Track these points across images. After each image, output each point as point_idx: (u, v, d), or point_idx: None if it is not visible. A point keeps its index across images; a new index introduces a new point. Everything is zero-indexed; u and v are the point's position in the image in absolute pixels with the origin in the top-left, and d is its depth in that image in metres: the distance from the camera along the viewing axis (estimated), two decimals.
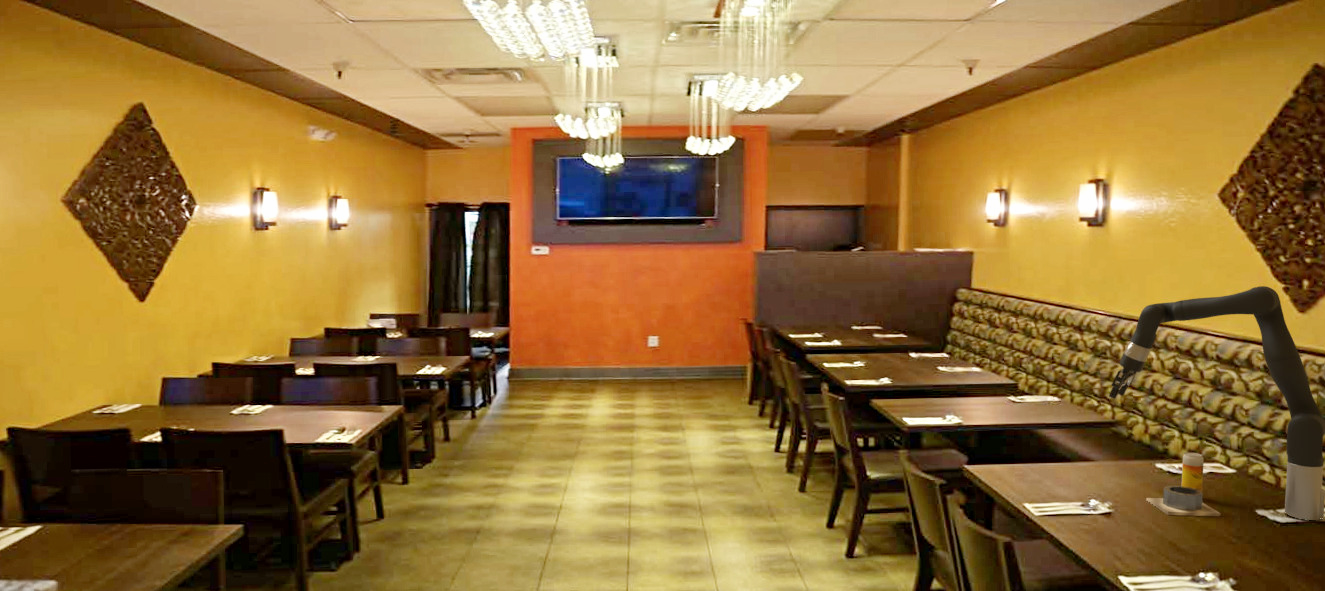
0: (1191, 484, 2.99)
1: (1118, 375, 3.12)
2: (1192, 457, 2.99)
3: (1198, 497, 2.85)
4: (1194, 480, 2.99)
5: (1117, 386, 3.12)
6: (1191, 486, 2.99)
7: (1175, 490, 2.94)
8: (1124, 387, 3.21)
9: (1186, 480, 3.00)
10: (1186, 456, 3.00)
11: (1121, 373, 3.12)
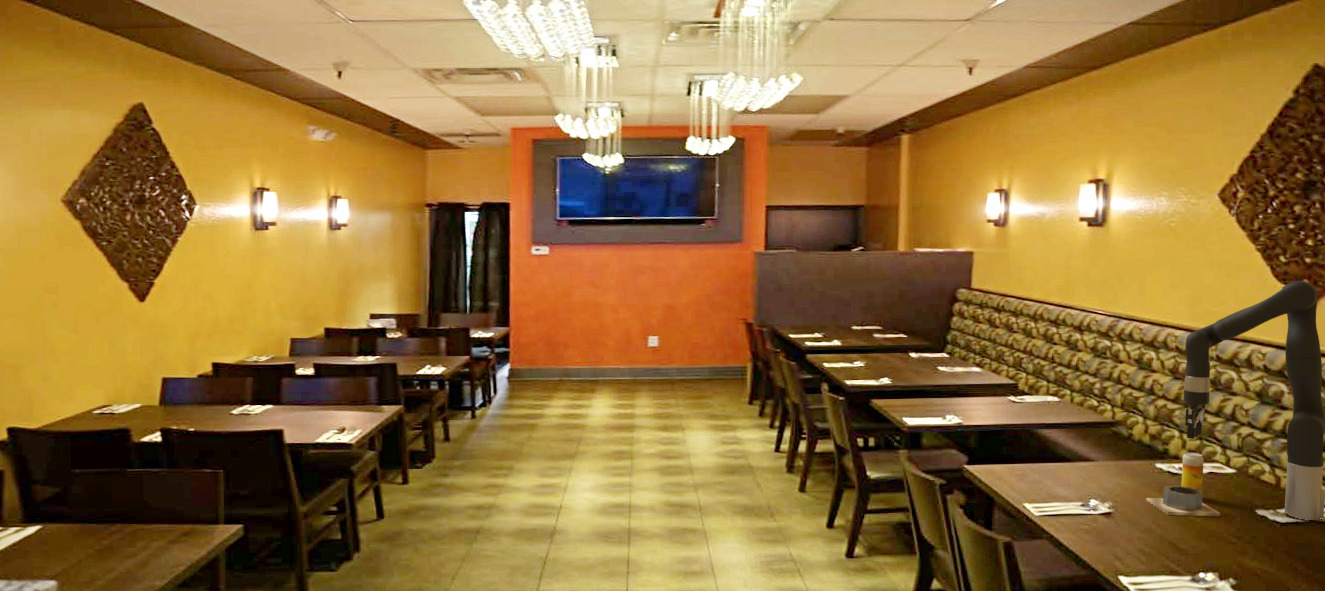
0: (1191, 484, 2.99)
1: (1188, 413, 2.95)
2: (1192, 457, 2.99)
3: (1198, 497, 2.85)
4: (1194, 480, 2.99)
5: (1191, 424, 2.95)
6: (1191, 486, 2.99)
7: (1175, 490, 2.94)
8: (1199, 425, 3.03)
9: (1186, 480, 3.00)
10: (1186, 456, 3.00)
11: (1190, 410, 2.95)
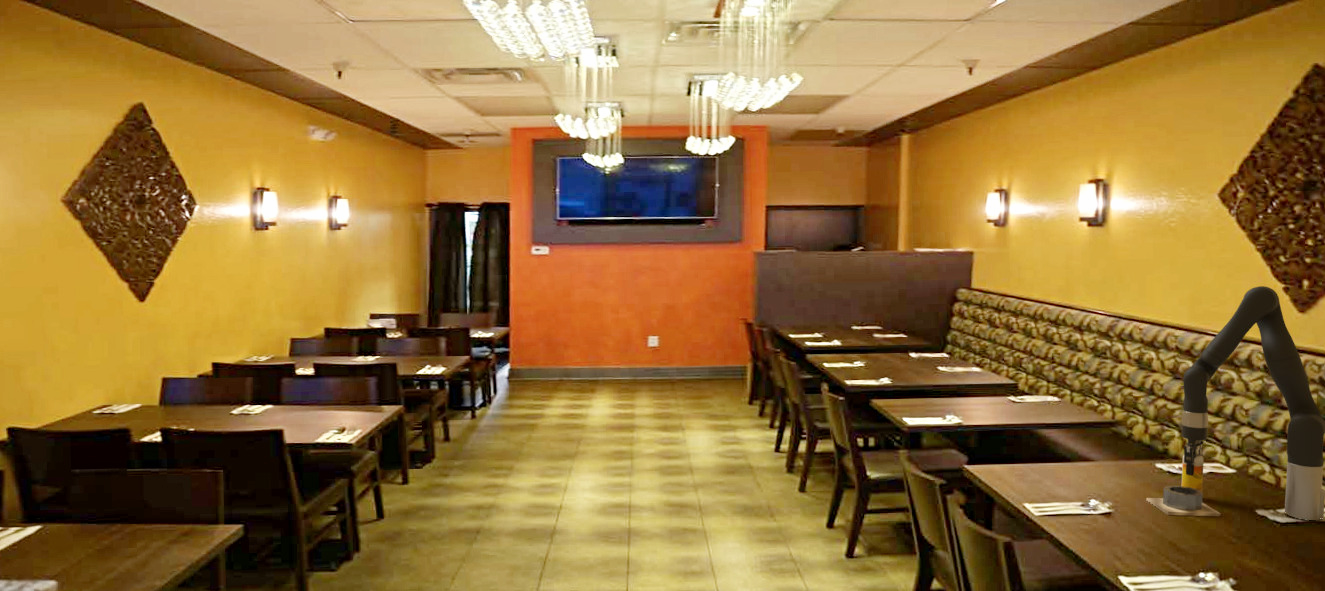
0: (1191, 484, 2.99)
1: (1186, 451, 2.97)
2: None
3: (1198, 497, 2.85)
4: (1194, 480, 2.99)
5: (1190, 461, 2.96)
6: (1191, 486, 2.99)
7: (1175, 490, 2.94)
8: None
9: (1186, 480, 3.00)
10: None
11: (1188, 448, 2.96)
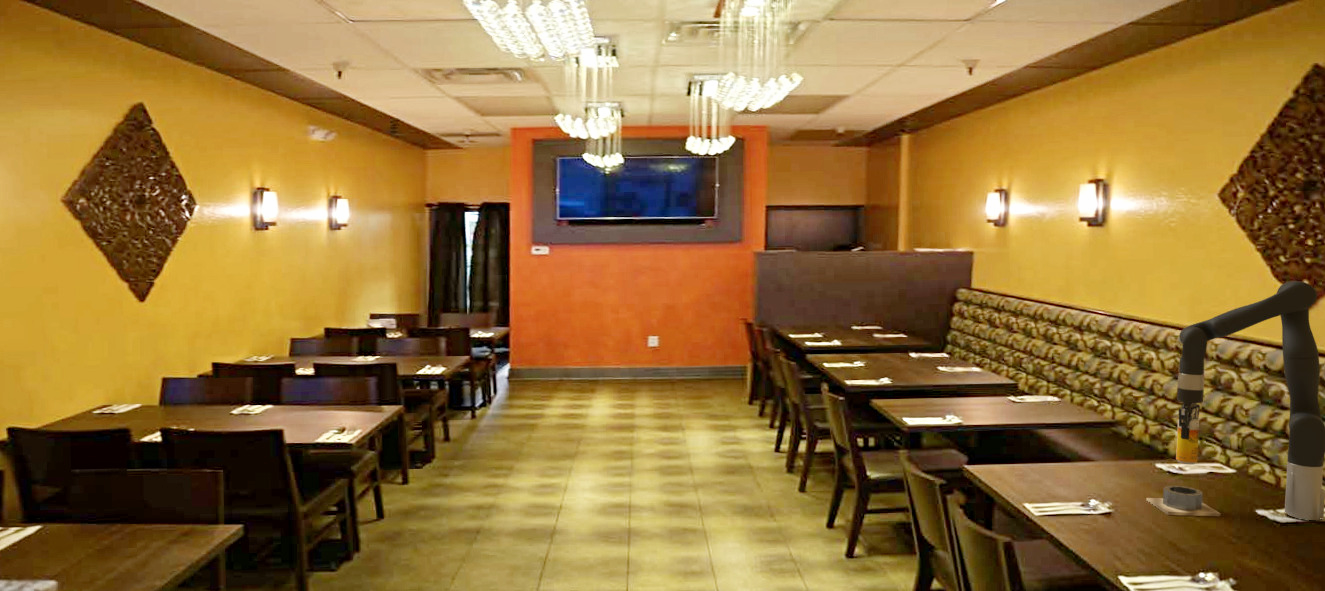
0: (1186, 448, 2.91)
1: (1181, 413, 2.88)
2: None
3: (1198, 497, 2.85)
4: (1189, 444, 2.90)
5: (1185, 424, 2.88)
6: (1185, 450, 2.91)
7: (1175, 490, 2.94)
8: None
9: (1181, 444, 2.92)
10: None
11: (1183, 410, 2.88)
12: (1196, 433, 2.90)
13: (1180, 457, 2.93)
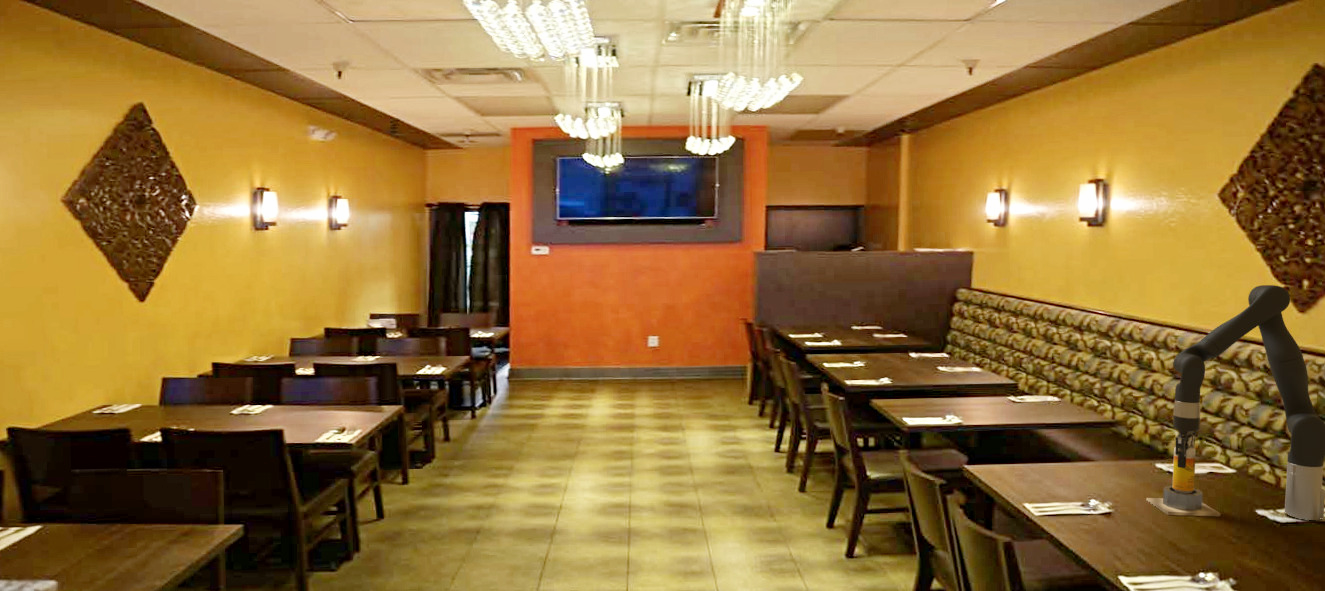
0: (1183, 477, 2.87)
1: (1177, 442, 2.84)
2: None
3: (1198, 497, 2.85)
4: (1186, 473, 2.87)
5: (1182, 453, 2.84)
6: (1182, 479, 2.87)
7: None
8: None
9: (1177, 472, 2.88)
10: None
11: (1179, 439, 2.84)
12: (1193, 462, 2.86)
13: (1176, 485, 2.89)
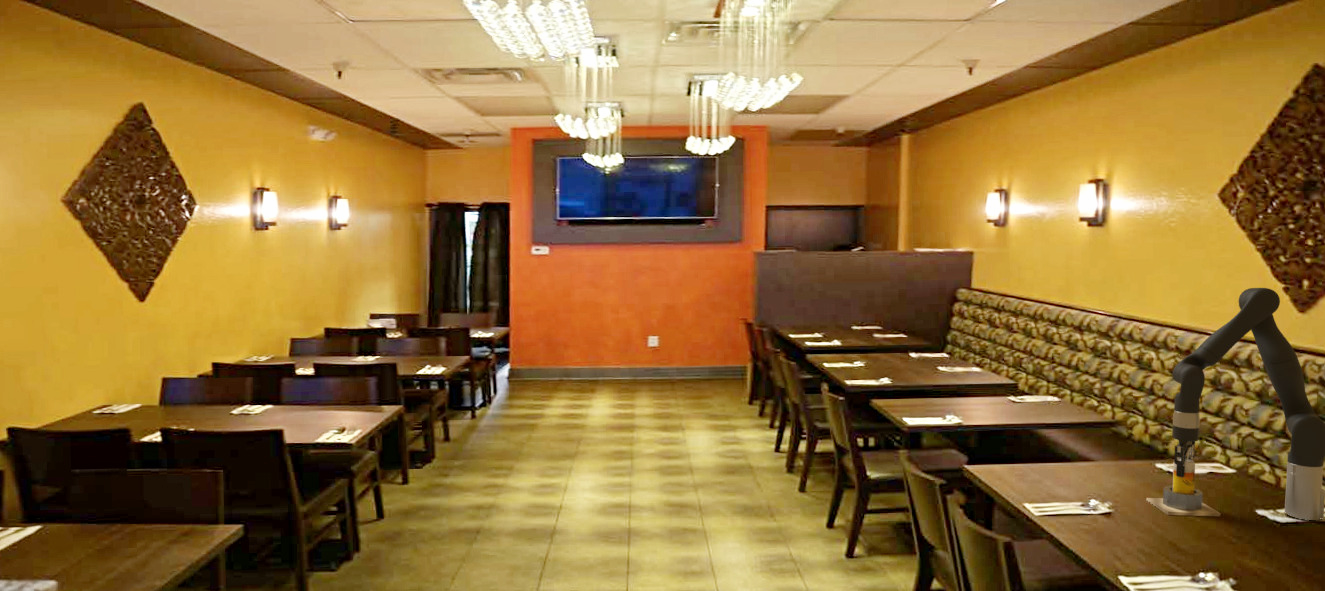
0: (1182, 491, 2.87)
1: (1176, 450, 2.84)
2: None
3: (1198, 497, 2.85)
4: (1186, 487, 2.87)
5: (1180, 462, 2.84)
6: None
7: None
8: None
9: (1177, 487, 2.88)
10: None
11: (1179, 447, 2.84)
12: (1192, 476, 2.87)
13: None
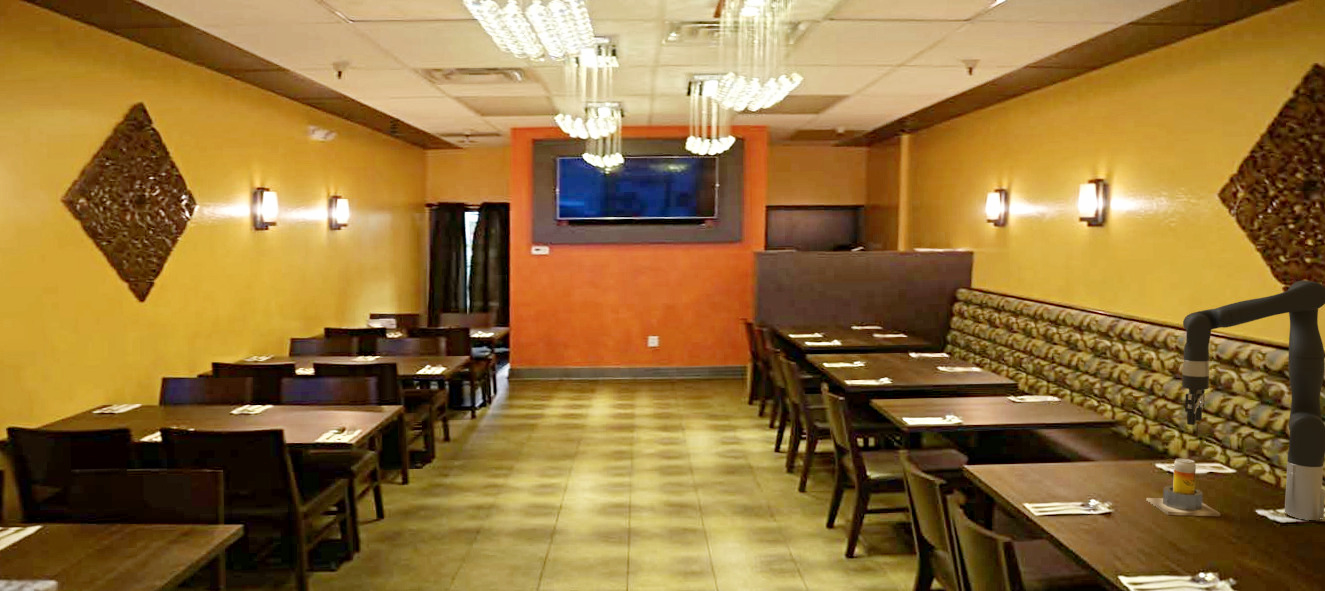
0: (1183, 491, 2.87)
1: (1187, 398, 2.86)
2: (1184, 463, 2.87)
3: (1198, 497, 2.85)
4: (1186, 487, 2.87)
5: (1191, 410, 2.86)
6: None
7: None
8: (1199, 411, 2.94)
9: (1177, 487, 2.88)
10: (1178, 462, 2.88)
11: (1189, 395, 2.86)
12: (1193, 476, 2.87)
13: None
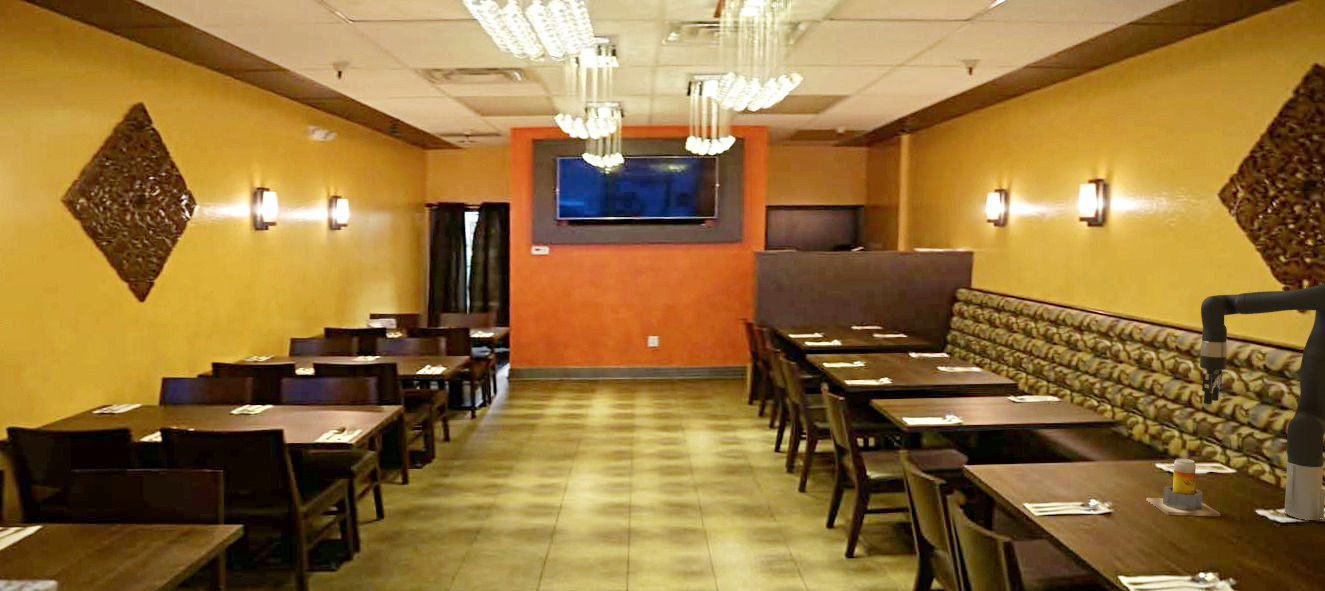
0: (1183, 491, 2.87)
1: (1205, 378, 2.94)
2: (1184, 463, 2.87)
3: (1198, 497, 2.85)
4: (1186, 487, 2.87)
5: (1208, 389, 2.93)
6: None
7: None
8: (1216, 391, 3.01)
9: (1177, 487, 2.88)
10: (1177, 462, 2.88)
11: (1207, 375, 2.94)
12: (1193, 476, 2.87)
13: None
